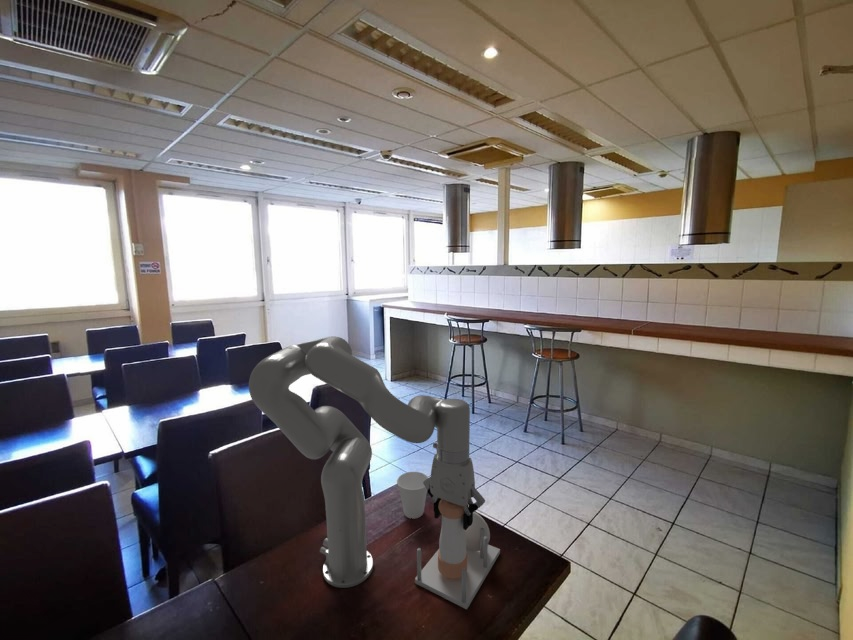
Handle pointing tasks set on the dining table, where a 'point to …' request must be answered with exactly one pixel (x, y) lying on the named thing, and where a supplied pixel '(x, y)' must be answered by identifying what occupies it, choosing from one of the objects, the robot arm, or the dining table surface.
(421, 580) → the dish rack
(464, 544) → the salt shaker
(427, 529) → the dining table surface
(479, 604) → the dining table surface
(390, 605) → the dining table surface
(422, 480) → the cup
